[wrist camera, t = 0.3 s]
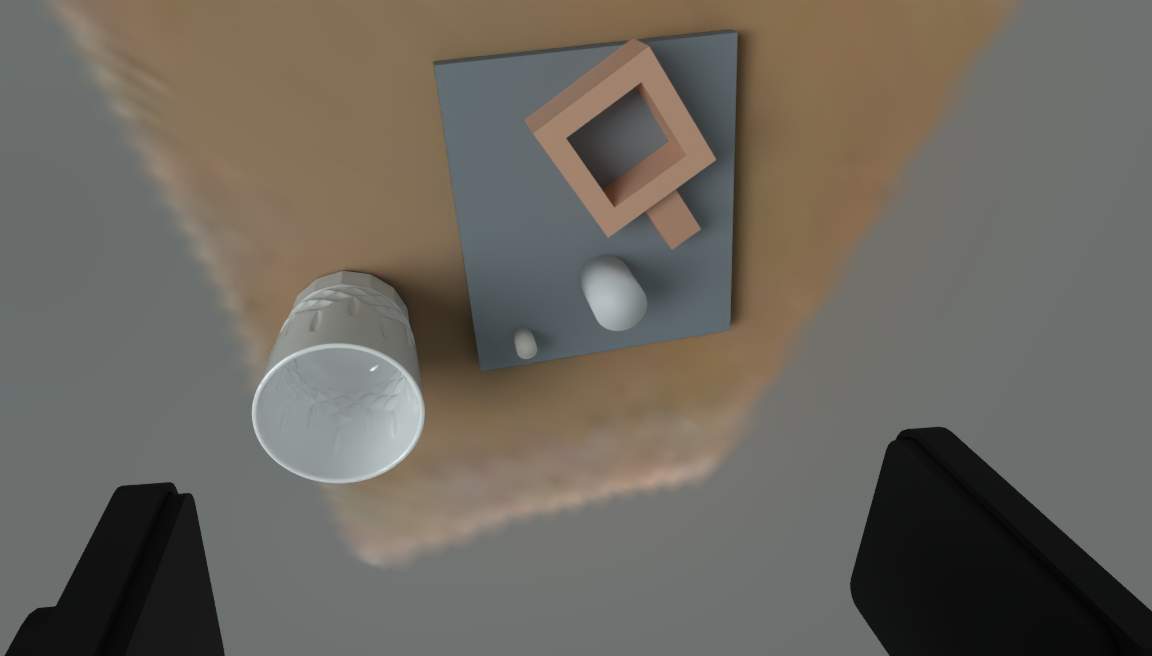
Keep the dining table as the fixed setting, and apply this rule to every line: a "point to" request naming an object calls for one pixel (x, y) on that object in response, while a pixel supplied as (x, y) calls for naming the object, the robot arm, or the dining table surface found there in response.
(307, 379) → the white cup
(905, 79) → the dining table surface
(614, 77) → the square frame with tab
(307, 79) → the dining table surface
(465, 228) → the board
